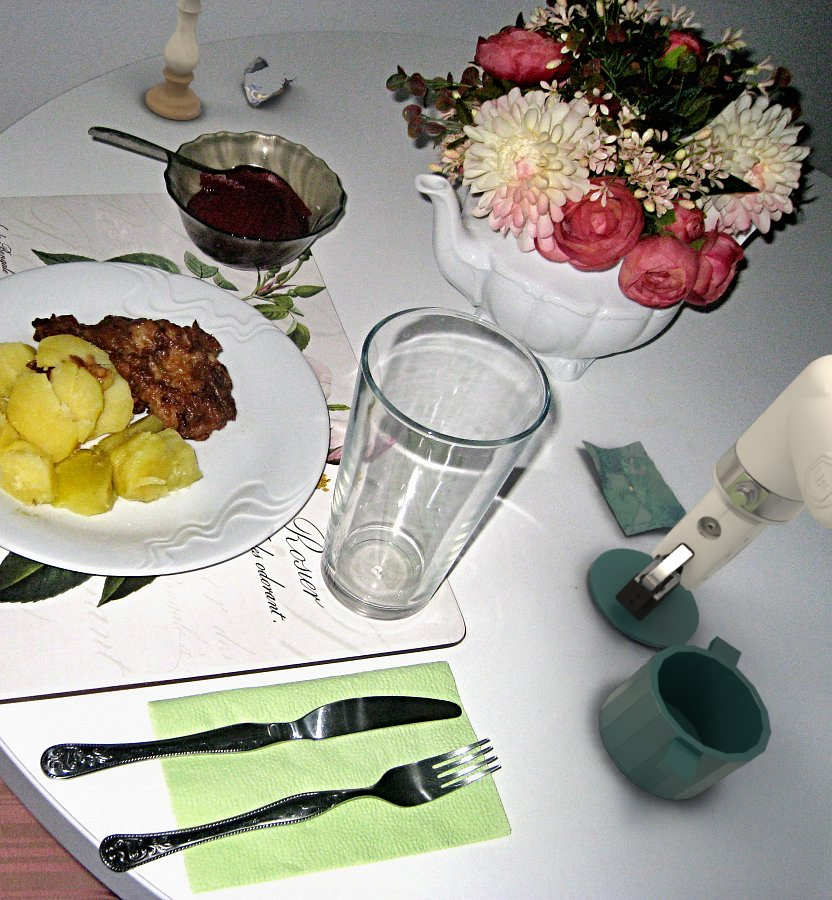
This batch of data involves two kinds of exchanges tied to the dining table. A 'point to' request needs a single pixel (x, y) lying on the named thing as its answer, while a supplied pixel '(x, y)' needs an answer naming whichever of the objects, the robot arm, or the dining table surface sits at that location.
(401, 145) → the dining table surface
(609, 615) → the pot lid
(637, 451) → the green flat curved rectangle
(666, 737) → the pot
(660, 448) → the dining table surface
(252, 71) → the snack package
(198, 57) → the candle holder
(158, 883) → the dining table surface
